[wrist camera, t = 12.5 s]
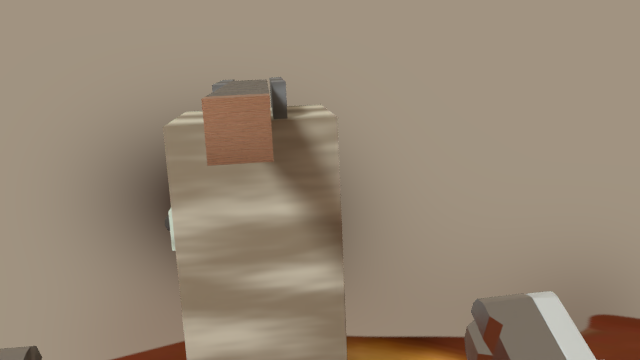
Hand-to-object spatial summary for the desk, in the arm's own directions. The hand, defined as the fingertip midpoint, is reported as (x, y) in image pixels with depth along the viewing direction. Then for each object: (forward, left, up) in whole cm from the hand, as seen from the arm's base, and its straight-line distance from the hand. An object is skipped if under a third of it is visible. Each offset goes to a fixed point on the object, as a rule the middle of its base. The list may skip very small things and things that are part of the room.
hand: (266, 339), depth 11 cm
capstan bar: (-7, -20, +1) cm, 21 cm away
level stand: (-12, -34, -25) cm, 44 cm away
